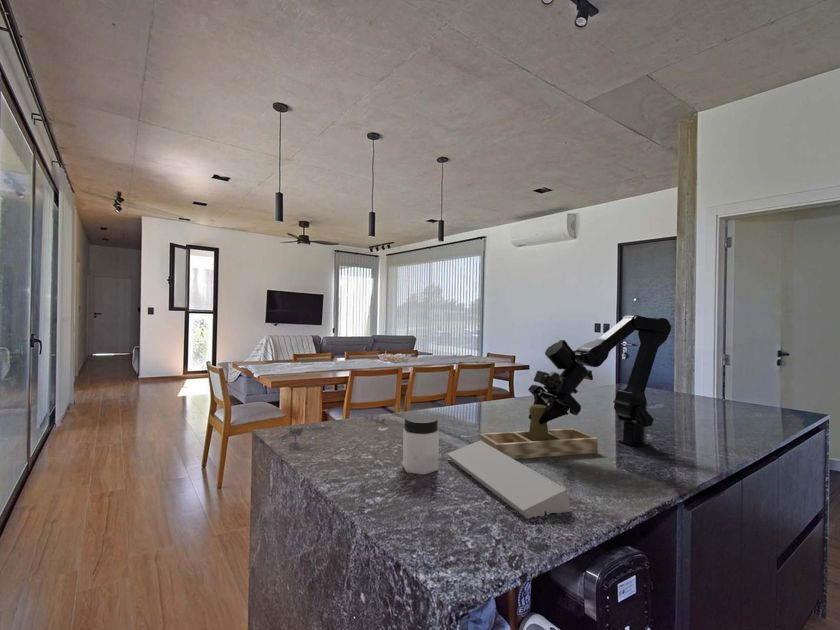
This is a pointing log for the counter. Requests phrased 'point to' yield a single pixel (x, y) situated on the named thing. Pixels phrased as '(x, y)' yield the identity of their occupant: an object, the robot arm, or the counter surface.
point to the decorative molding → (511, 480)
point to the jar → (420, 444)
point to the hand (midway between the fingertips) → (534, 420)
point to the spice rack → (541, 443)
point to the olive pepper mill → (537, 424)
